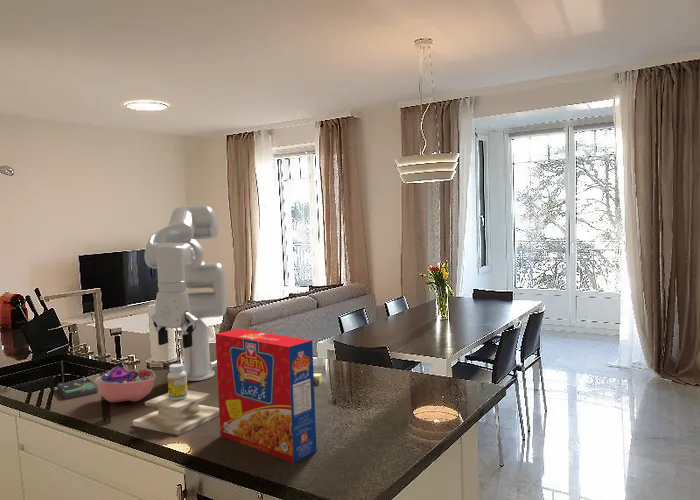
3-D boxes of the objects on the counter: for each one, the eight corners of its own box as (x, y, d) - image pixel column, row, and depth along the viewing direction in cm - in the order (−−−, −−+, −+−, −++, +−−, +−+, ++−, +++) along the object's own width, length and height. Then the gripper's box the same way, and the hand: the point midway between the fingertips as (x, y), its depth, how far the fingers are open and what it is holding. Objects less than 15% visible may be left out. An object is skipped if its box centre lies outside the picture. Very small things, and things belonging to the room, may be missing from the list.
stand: (179, 405, 174) (178, 385, 174) (223, 413, 166) (222, 392, 166) (132, 425, 159) (131, 403, 158) (179, 435, 150) (177, 412, 150)
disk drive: (56, 391, 196) (65, 400, 185) (56, 383, 196) (64, 392, 185) (88, 385, 203) (98, 393, 191) (87, 377, 203) (97, 385, 191)
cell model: (133, 412, 170) (131, 376, 169) (83, 406, 177) (81, 372, 176) (169, 395, 186) (167, 362, 185) (122, 390, 193) (120, 358, 192)
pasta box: (220, 436, 149) (215, 333, 147) (243, 427, 155) (239, 328, 153) (293, 463, 131) (288, 347, 129) (316, 451, 137) (312, 340, 135)
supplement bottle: (188, 398, 161) (187, 366, 160) (169, 401, 159) (168, 368, 158) (186, 393, 166) (184, 362, 165) (167, 396, 163) (165, 364, 163)
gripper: (140, 288, 161) (144, 345, 162) (184, 290, 153) (188, 351, 154) (160, 284, 167) (163, 340, 169) (203, 287, 159) (206, 345, 161)
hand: (175, 345), depth 161 cm, fingers open, 9 cm apart
